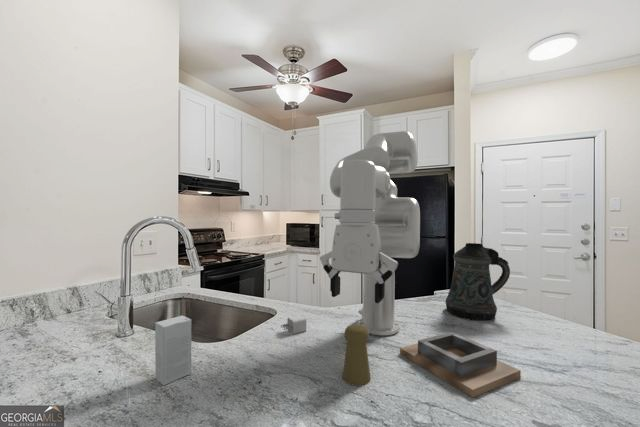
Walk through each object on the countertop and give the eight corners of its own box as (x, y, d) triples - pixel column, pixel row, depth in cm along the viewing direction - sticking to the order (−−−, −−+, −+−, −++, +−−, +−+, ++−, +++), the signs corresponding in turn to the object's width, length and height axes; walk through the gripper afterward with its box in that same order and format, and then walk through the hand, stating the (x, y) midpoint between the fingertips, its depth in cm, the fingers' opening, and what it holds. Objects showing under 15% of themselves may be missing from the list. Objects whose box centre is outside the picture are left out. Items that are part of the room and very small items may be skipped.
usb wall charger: (306, 331, 88) (306, 318, 88) (285, 336, 85) (285, 322, 85) (300, 327, 92) (300, 314, 92) (279, 332, 88) (279, 318, 88)
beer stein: (436, 307, 113) (436, 241, 113) (481, 304, 117) (481, 241, 117) (465, 322, 97) (465, 246, 97) (516, 319, 100) (516, 245, 100)
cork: (370, 387, 60) (370, 332, 60) (340, 383, 62) (341, 330, 62) (371, 371, 66) (371, 322, 66) (344, 368, 67) (344, 320, 67)
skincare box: (182, 367, 67) (183, 314, 67) (191, 374, 65) (192, 319, 65) (153, 378, 63) (154, 322, 63) (162, 386, 60) (163, 327, 60)
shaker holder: (399, 353, 75) (400, 336, 75) (443, 341, 82) (444, 325, 82) (472, 397, 57) (473, 374, 57) (520, 377, 64) (520, 356, 65)
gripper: (313, 217, 64) (312, 297, 64) (393, 218, 57) (392, 309, 56) (328, 218, 71) (327, 290, 71) (402, 219, 63) (401, 300, 63)
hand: (356, 298), depth 63 cm, fingers open, 9 cm apart
